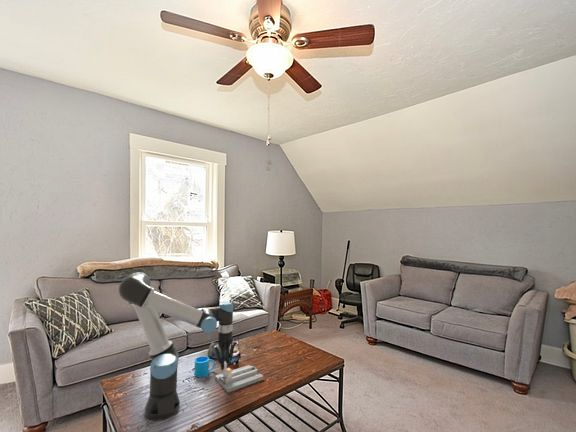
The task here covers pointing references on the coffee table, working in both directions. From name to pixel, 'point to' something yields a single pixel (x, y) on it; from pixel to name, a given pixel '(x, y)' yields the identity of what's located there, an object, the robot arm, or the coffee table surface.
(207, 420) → the coffee table surface
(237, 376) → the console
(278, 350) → the coffee table surface
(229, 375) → the fader tab
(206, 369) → the mug
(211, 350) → the mineral rock
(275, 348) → the coffee table surface
